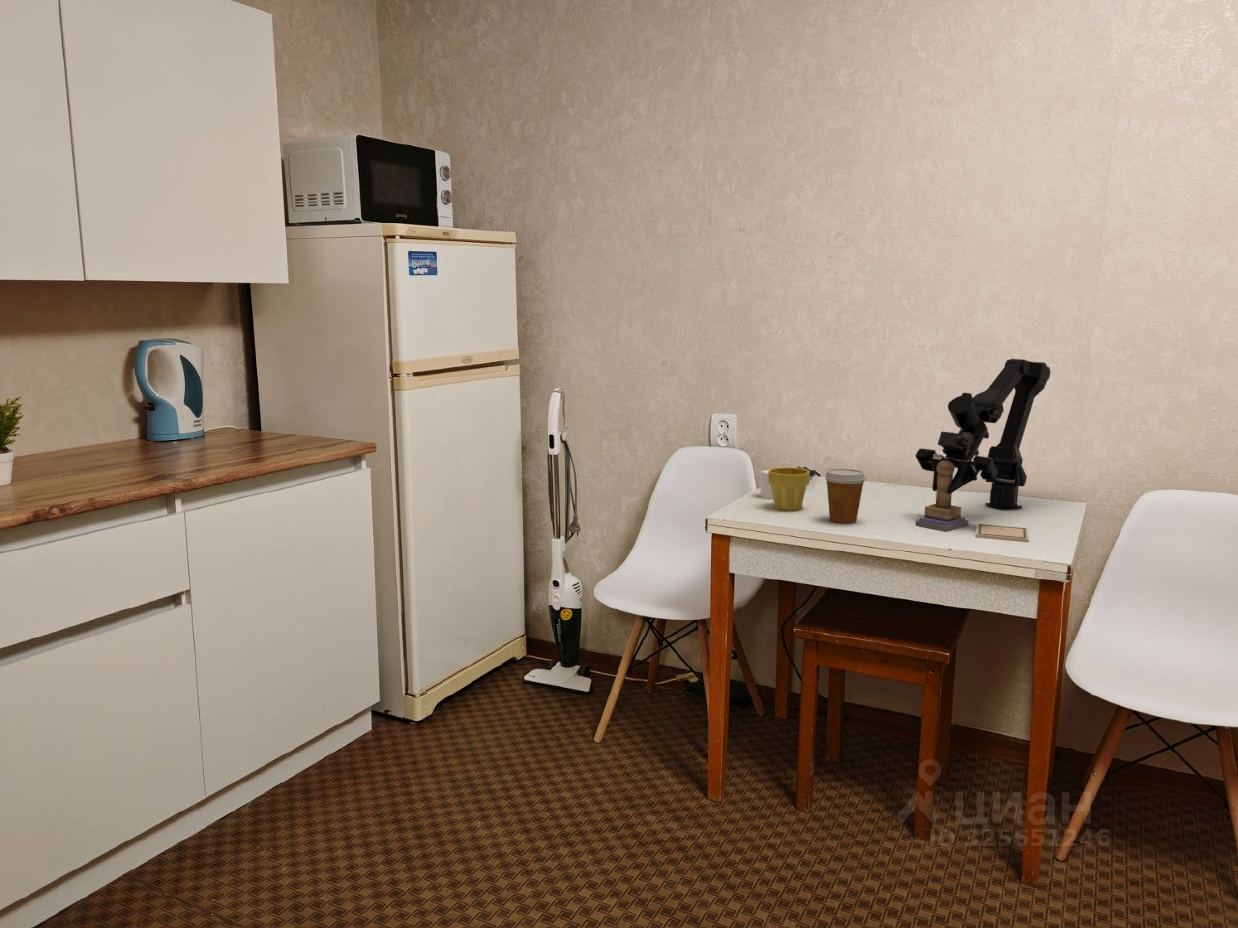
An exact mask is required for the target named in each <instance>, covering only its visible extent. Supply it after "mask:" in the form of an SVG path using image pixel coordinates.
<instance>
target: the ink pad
mask: <svg viewBox="0 0 1238 928" xmlns="http://www.w3.org/2000/svg"><path fill="white" fill-rule="evenodd" d="M969 522H970V521H969V519H966V517H964V516H961V518H959V519H955V520H952V521H949V522H945V521H940V520H935V519H930V518H925V517H924V516H923V517H922V516H921V517H919V519H916V520H915V526H917V527H922V528H926V529H932V530H935V531H942V532H945V531H946V532H951V531H954V530H956V529H961V528H963V527H966V526H969Z"/></svg>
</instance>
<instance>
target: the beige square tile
mask: <svg viewBox="0 0 1238 928" xmlns="http://www.w3.org/2000/svg"><path fill="white" fill-rule="evenodd" d="M975 538H981V539H982V538H983V539H994V540H1002V541H1003V540H1004V541H1015V542H1025V543H1029V540H1030V539H1029V538H1030V537H1029V529H1028V527H1027V528H1026V527H1019V526H1018V527H1017V526H1005V525H996V524H995V525H993V524H983V523H977V524H976V531H975Z"/></svg>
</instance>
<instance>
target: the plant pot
mask: <svg viewBox="0 0 1238 928" xmlns="http://www.w3.org/2000/svg"><path fill="white" fill-rule="evenodd" d="M768 470H769V472H768V480H769V484H771V488H772V493H773V498H774V499H773V503H774V504H773V505H774V508H775V509H777V510H780V511H788V512H789V511H799V510H800V509H802V507H803V504H804V503H803V502H804V498H805V495H806V490H807V486H809V485H810V480H811V479H810V475H811V473H810V470H809V469H806V468H803V467H794V466H793V467H792V466H791V467H789V466H787V467H785V466H783V467H774V468H770V469H768Z"/></svg>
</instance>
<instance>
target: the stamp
mask: <svg viewBox="0 0 1238 928" xmlns="http://www.w3.org/2000/svg"><path fill="white" fill-rule="evenodd" d="M955 469H956V468H955V467H954V464H953V463H952V462H951V461H949V460H942V461H940V462H939V463H938V465H937V472H938V475H937V490H936V491H935V493H936V494H935V503H934V504H930V505H927V506H924V514H923V515H924V516H923V517H925V518H930V519H935V520H940V521H945V522H949V521H952V520H955V519H959V518H961V517H962V506H957V505H952V493H951V494H948V492H947V490H948V488H949V485H950V484H951V482H952V480H953V478H954V473H955Z"/></svg>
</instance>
